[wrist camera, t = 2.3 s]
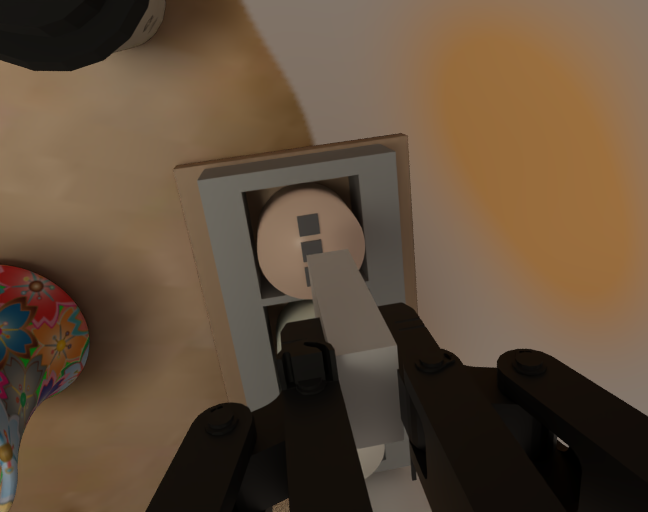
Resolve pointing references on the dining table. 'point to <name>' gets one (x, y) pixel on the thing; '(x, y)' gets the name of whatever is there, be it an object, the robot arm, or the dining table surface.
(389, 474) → the cup
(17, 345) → the mug
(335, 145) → the console
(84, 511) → the dining table surface
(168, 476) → the robot arm
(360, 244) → the button
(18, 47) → the coffee cup
